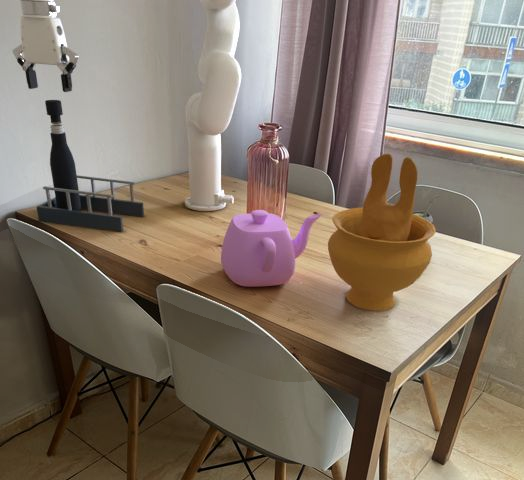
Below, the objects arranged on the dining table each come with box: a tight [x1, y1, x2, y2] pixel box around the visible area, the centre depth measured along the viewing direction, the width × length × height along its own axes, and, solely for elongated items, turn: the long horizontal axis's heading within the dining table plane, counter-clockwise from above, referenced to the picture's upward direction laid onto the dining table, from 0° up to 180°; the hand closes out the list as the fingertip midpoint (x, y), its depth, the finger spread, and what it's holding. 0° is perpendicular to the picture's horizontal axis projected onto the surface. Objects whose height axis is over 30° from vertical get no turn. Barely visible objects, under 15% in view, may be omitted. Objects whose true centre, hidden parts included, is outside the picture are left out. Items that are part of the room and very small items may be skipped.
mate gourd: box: [412, 193, 444, 242], centre depth 144 cm, size 8×8×15 cm
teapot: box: [220, 209, 323, 287], centre depth 121 cm, size 23×21×15 cm
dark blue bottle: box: [44, 99, 83, 211], centre depth 148 cm, size 6×6×30 cm
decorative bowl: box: [327, 153, 437, 312], centre depth 111 cm, size 21×21×30 cm
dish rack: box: [36, 174, 145, 233], centre depth 152 cm, size 25×14×10 cm, turn 76°
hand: (50, 89), depth 138 cm, fingers open, 9 cm apart
